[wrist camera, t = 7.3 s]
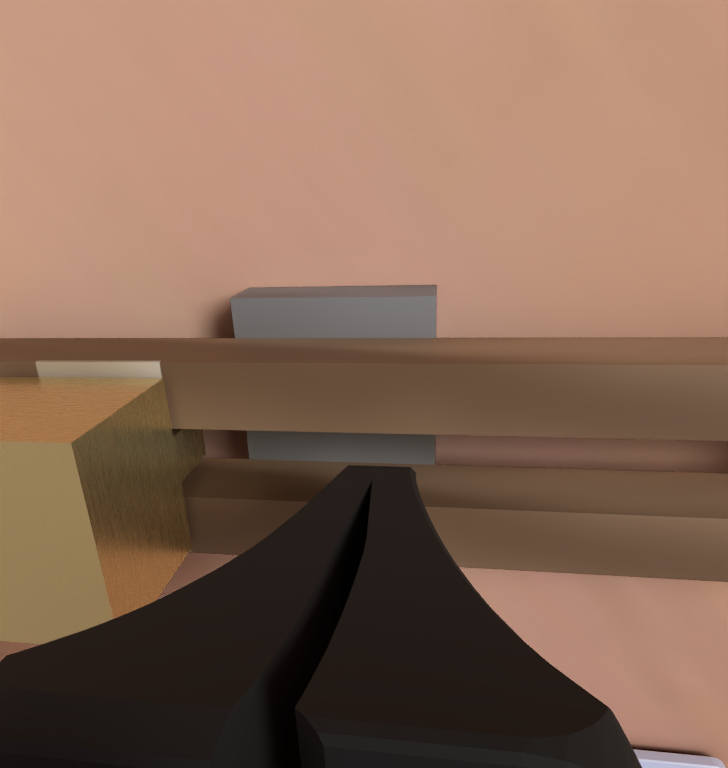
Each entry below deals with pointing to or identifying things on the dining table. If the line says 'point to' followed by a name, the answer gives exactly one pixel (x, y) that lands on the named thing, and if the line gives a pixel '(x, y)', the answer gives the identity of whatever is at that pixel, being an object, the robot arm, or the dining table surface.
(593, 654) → the dining table surface
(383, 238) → the dining table surface
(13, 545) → the block
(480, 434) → the beam
